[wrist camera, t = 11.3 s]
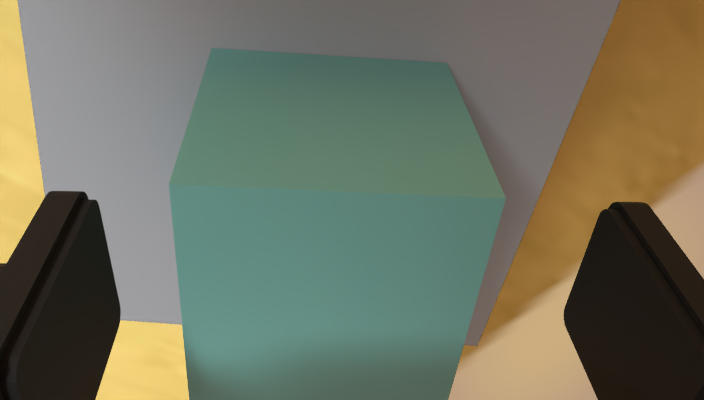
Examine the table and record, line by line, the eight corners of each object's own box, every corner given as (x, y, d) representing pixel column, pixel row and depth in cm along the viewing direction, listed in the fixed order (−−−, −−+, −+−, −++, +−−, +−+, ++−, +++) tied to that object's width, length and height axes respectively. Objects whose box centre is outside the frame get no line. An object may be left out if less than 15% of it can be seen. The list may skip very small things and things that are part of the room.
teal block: (211, 48, 13) (168, 184, 9) (446, 62, 14) (505, 198, 10) (219, 234, 16) (189, 400, 12) (412, 241, 16) (446, 402, 12)
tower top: (79, -205, 15) (-9, -186, 10) (564, -115, 16) (649, -69, 12) (108, 208, 21) (62, 315, 17) (447, 240, 23) (477, 345, 19)
